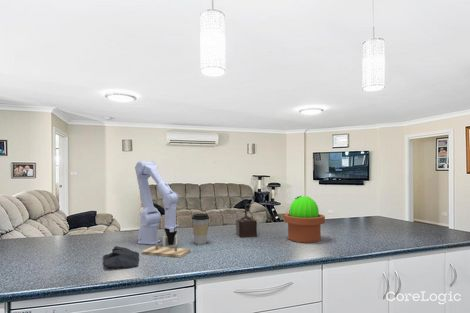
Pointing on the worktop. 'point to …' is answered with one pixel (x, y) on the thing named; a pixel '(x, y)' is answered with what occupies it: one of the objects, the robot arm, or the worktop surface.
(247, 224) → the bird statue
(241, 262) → the worktop surface
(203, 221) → the coffee cup
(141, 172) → the robot arm
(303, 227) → the potted cactus
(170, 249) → the ledge
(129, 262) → the dark slate chunk
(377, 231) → the worktop surface
